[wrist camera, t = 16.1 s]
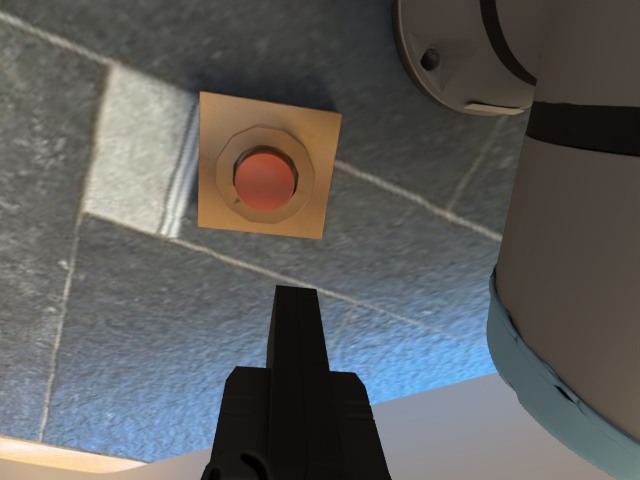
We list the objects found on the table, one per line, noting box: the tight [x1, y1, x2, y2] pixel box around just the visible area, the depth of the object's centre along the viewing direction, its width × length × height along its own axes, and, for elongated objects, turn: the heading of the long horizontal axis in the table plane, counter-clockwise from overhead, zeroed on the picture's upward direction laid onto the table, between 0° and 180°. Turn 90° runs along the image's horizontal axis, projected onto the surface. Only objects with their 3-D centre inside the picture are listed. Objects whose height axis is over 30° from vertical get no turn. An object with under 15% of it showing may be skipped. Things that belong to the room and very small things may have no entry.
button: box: [235, 149, 294, 211], centre depth 24 cm, size 4×4×2 cm
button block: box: [198, 91, 342, 239], centre depth 26 cm, size 10×10×4 cm
